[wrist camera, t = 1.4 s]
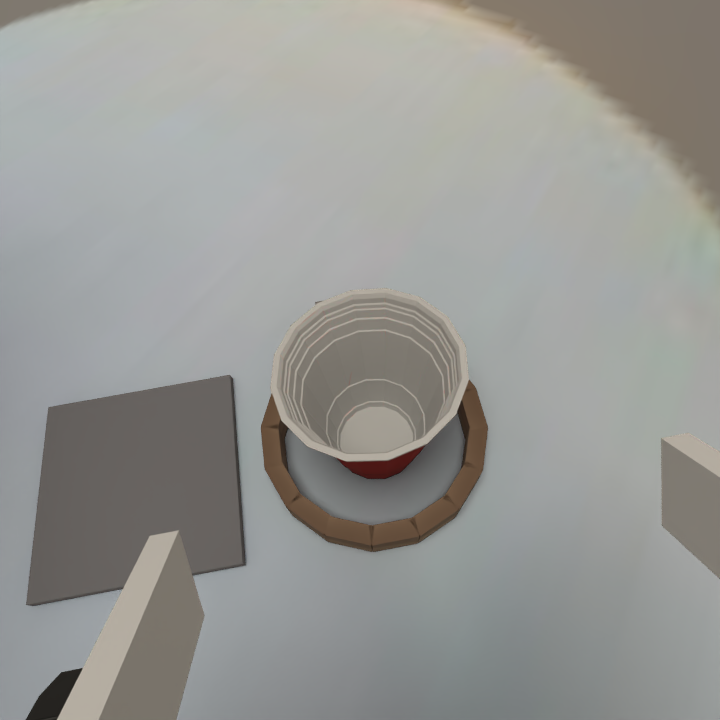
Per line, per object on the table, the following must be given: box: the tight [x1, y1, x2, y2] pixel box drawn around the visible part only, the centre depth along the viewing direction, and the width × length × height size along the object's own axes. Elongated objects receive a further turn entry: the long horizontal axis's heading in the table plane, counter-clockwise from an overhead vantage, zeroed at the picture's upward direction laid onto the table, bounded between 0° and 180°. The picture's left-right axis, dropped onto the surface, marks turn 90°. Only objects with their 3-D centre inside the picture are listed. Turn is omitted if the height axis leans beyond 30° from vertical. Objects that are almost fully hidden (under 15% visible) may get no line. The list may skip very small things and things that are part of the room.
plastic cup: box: [270, 288, 469, 479], centre depth 34 cm, size 11×11×12 cm
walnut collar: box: [261, 301, 488, 552], centre depth 38 cm, size 15×18×4 cm
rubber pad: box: [26, 375, 245, 606], centre depth 38 cm, size 14×14×1 cm
